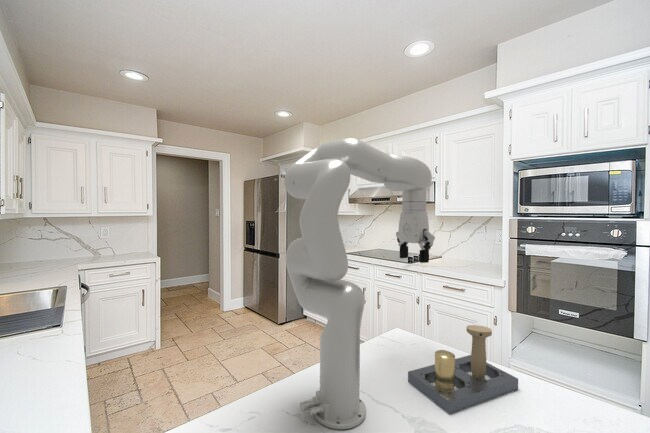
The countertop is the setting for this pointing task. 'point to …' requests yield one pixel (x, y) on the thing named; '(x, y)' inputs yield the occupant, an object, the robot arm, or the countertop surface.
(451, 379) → the brass pin
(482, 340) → the handle
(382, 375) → the countertop surface
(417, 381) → the bolt plate
